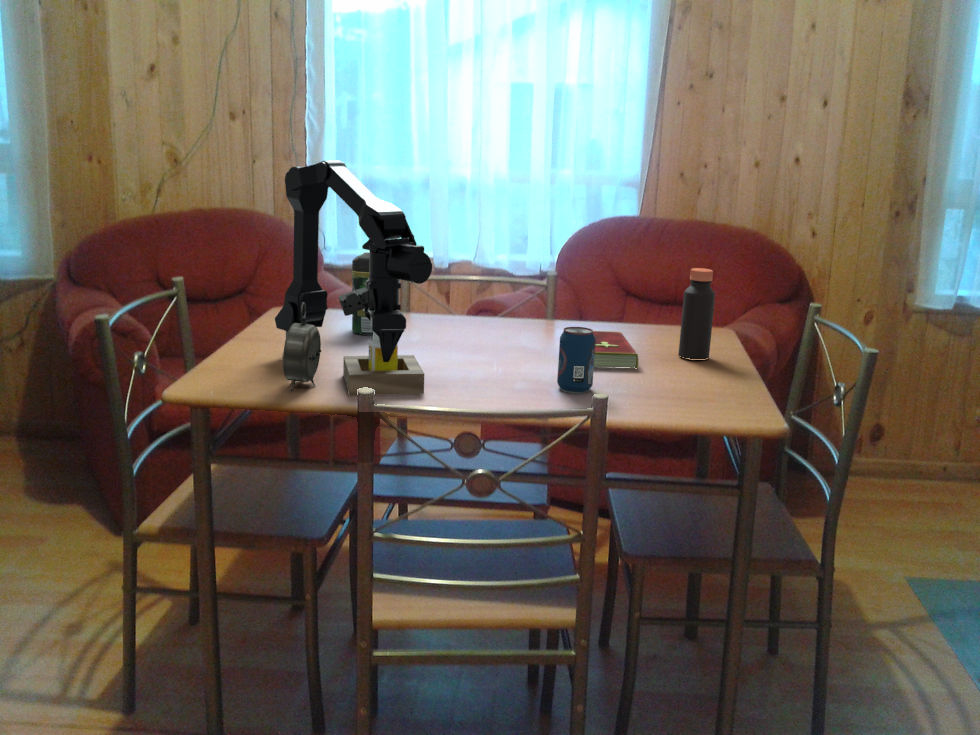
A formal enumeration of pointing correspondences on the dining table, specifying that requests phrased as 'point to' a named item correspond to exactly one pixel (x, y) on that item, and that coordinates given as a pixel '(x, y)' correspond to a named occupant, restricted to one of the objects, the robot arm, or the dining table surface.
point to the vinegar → (697, 315)
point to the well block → (384, 376)
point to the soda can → (576, 360)
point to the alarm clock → (301, 352)
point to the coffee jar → (359, 281)
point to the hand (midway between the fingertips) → (383, 355)
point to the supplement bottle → (376, 357)
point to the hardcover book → (613, 350)
